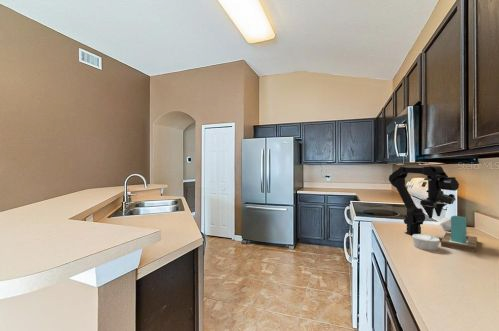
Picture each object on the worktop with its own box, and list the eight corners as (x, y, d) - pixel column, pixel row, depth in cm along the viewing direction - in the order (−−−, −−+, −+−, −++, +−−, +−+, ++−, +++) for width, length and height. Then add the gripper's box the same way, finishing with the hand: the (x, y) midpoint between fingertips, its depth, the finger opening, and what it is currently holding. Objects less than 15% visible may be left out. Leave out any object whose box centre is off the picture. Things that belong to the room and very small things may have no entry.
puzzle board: (476, 252, 113) (476, 247, 113) (441, 246, 122) (441, 241, 122) (477, 241, 128) (477, 236, 128) (446, 236, 137) (445, 232, 137)
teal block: (462, 243, 118) (462, 218, 118) (451, 240, 122) (451, 216, 122) (466, 241, 120) (466, 217, 120) (455, 239, 124) (455, 215, 124)
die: (454, 234, 144) (463, 221, 144) (438, 225, 148) (447, 213, 149) (450, 235, 151) (458, 223, 151) (435, 227, 155) (443, 215, 156)
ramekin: (444, 252, 114) (444, 241, 114) (418, 250, 116) (418, 240, 116) (432, 244, 125) (432, 234, 125) (408, 243, 127) (408, 233, 127)
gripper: (444, 191, 118) (444, 222, 118) (460, 189, 127) (460, 218, 128) (419, 189, 128) (419, 218, 128) (435, 187, 137) (435, 214, 137)
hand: (434, 217), depth 130 cm, fingers open, 9 cm apart
